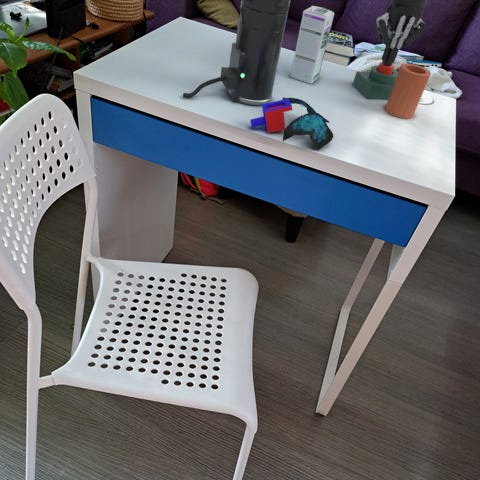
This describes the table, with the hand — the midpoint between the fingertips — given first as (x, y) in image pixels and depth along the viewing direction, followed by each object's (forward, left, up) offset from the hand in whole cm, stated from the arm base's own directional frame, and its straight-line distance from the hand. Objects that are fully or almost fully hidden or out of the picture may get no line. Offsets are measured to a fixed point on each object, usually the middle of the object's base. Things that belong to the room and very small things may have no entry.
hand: (386, 64), depth 118 cm
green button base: (0, 0, -7) cm, 7 cm away
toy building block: (-32, -21, -3) cm, 38 cm away
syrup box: (-17, +7, -7) cm, 19 cm away
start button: (0, 0, -2) cm, 2 cm away
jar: (0, -11, -7) cm, 13 cm away
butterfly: (-24, -23, -6) cm, 34 cm away
